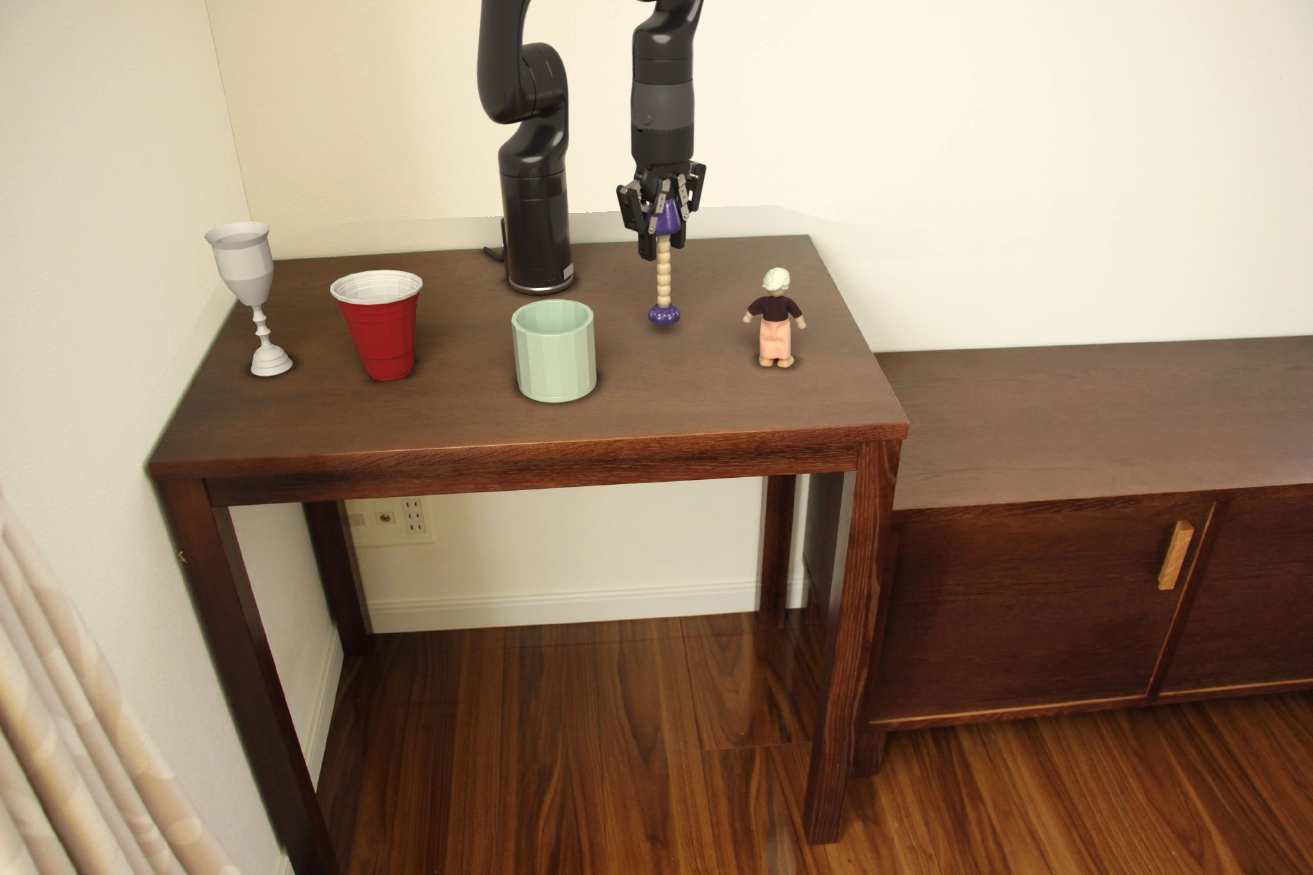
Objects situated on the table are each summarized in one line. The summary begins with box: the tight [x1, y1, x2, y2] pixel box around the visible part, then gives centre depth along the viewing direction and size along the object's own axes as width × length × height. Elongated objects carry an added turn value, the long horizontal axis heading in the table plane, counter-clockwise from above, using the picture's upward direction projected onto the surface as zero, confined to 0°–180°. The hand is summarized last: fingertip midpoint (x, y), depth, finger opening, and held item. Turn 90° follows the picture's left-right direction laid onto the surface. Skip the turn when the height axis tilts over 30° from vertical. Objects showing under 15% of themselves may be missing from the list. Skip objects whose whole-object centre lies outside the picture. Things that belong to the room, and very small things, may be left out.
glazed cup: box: [510, 298, 598, 404], centre depth 119 cm, size 10×10×9 cm
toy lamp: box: [645, 198, 681, 326], centre depth 126 cm, size 5×5×17 cm
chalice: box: [203, 220, 294, 377], centre depth 121 cm, size 7×7×18 cm
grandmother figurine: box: [742, 266, 807, 368], centre depth 122 cm, size 8×4×13 cm, turn 89°
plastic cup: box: [329, 269, 423, 382], centre depth 121 cm, size 11×11×12 cm
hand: (662, 252), depth 125 cm, fingers closed on toy lamp, 4 cm apart
